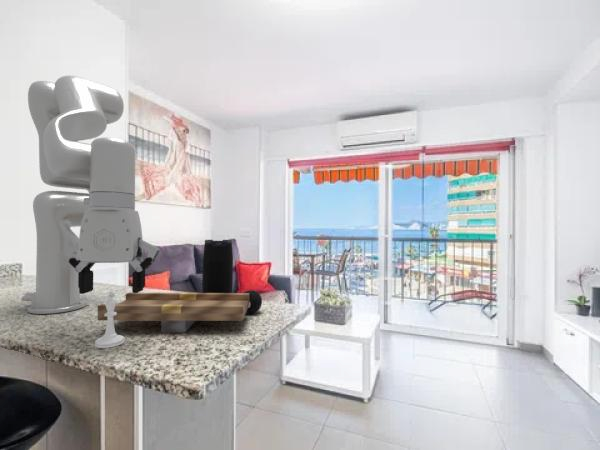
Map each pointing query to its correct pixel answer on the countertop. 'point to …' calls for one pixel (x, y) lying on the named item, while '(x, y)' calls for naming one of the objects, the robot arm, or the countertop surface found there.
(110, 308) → the chess piece
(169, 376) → the countertop surface
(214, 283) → the portable speaker
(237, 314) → the beam
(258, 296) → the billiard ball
